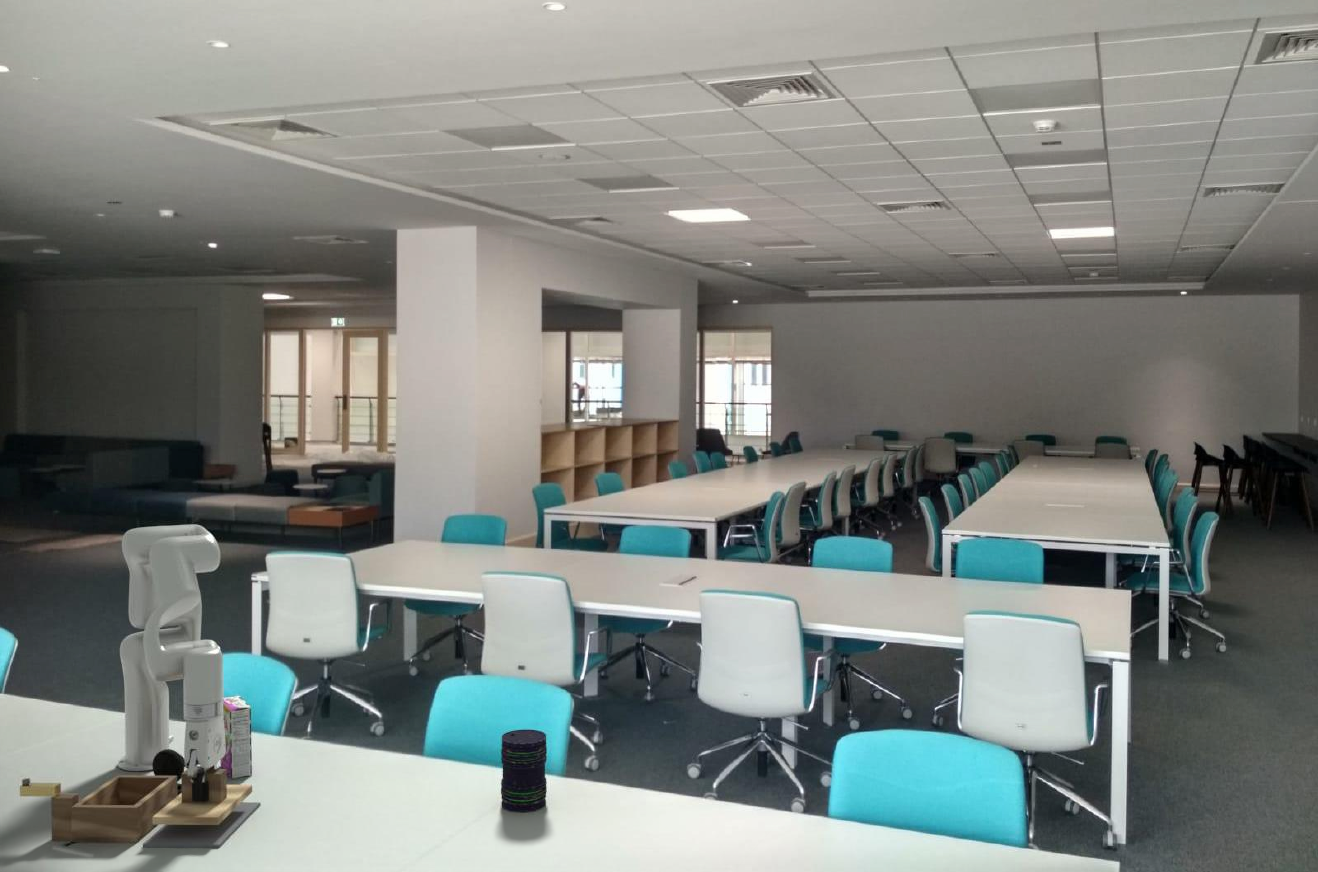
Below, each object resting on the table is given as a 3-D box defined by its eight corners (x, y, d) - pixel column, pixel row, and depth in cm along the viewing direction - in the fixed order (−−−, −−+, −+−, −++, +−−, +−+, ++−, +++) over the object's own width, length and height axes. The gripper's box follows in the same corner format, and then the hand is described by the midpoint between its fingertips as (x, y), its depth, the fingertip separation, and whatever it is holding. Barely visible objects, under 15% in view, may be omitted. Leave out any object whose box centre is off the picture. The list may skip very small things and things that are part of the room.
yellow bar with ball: (25, 792, 219) (25, 777, 219) (60, 793, 219) (60, 778, 219) (19, 796, 217) (19, 781, 217) (55, 796, 217) (55, 781, 217)
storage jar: (555, 800, 241) (555, 733, 240) (531, 816, 232) (531, 746, 231) (516, 793, 245) (516, 727, 244) (491, 808, 236) (491, 739, 235)
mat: (190, 804, 236) (190, 802, 236) (260, 805, 236) (260, 802, 236) (142, 847, 214) (142, 844, 214) (219, 847, 214) (219, 844, 214)
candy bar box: (218, 766, 261) (218, 698, 260) (240, 762, 263) (240, 694, 263) (230, 780, 251) (229, 709, 251) (252, 776, 254) (252, 706, 254)
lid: (191, 791, 234) (191, 756, 234) (252, 791, 234) (252, 757, 234) (152, 824, 216) (152, 787, 216) (218, 825, 216) (218, 787, 216)
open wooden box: (96, 807, 234) (96, 768, 234) (177, 808, 234) (177, 768, 234) (49, 842, 216) (49, 799, 216) (137, 842, 216) (137, 800, 216)
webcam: (195, 790, 245) (194, 746, 244) (170, 802, 238) (169, 757, 237) (167, 786, 247) (166, 742, 247) (141, 798, 240) (141, 753, 240)
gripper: (205, 721, 216) (206, 813, 217) (237, 698, 233) (237, 783, 233) (167, 721, 216) (168, 813, 217) (201, 698, 233) (202, 783, 233)
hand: (204, 797), depth 225 cm, fingers closed on lid, 3 cm apart
